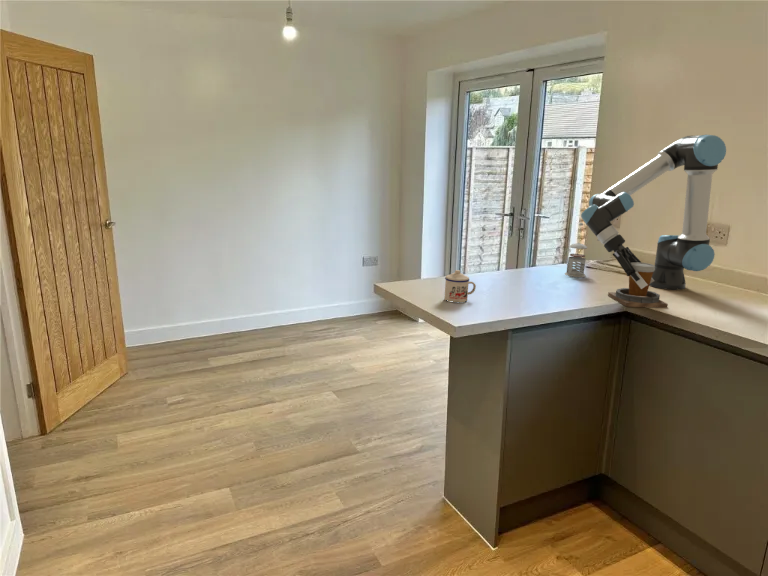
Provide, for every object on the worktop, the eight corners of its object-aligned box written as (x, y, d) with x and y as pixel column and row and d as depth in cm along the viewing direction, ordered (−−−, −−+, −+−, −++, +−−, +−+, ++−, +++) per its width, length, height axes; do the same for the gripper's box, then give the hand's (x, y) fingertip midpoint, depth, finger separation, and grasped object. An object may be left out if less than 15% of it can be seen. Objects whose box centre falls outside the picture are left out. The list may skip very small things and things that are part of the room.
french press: (588, 277, 253) (595, 224, 247) (564, 276, 253) (570, 223, 247) (581, 273, 262) (588, 222, 256) (558, 272, 262) (563, 221, 256)
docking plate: (646, 296, 219) (647, 288, 218) (667, 307, 203) (668, 298, 203) (607, 295, 219) (609, 287, 218) (625, 306, 203) (626, 297, 202)
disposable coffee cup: (653, 298, 205) (658, 267, 202) (627, 296, 207) (631, 265, 204) (647, 292, 214) (651, 262, 211) (621, 290, 216) (626, 261, 213)
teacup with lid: (447, 303, 198) (449, 273, 196) (440, 297, 207) (442, 268, 204) (478, 303, 201) (480, 273, 198) (470, 297, 209) (472, 267, 207)
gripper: (611, 242, 224) (646, 285, 218) (594, 248, 207) (631, 295, 201) (627, 231, 219) (663, 275, 213) (610, 236, 203) (649, 284, 197)
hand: (647, 284), depth 207 cm, fingers closed on disposable coffee cup, 9 cm apart
